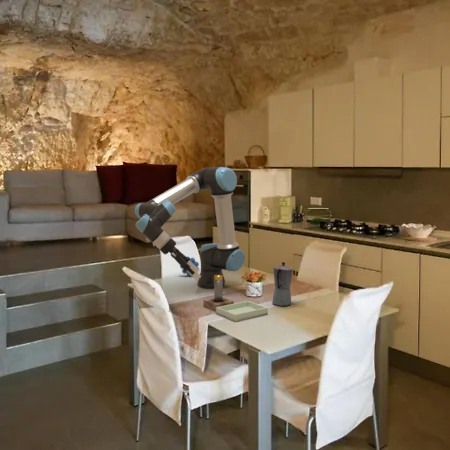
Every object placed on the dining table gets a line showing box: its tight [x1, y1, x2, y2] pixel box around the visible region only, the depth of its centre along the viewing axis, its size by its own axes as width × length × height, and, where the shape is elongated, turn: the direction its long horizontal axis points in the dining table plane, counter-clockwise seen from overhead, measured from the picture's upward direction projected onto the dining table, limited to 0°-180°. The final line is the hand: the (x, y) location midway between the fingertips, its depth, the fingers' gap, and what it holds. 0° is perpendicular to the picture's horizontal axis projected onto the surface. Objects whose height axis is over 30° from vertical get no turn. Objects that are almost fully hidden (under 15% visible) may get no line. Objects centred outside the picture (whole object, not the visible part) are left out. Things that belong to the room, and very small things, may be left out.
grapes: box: [179, 256, 200, 277], centre depth 292 cm, size 12×7×12 cm, turn 109°
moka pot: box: [271, 261, 294, 307], centre depth 234 cm, size 10×15×20 cm, turn 161°
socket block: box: [203, 297, 235, 312], centre depth 230 cm, size 10×10×3 cm
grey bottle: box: [213, 274, 224, 303], centre depth 229 cm, size 4×4×15 cm
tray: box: [215, 300, 269, 323], centre depth 219 cm, size 18×14×3 cm
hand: (198, 275), depth 227 cm, fingers open, 13 cm apart
